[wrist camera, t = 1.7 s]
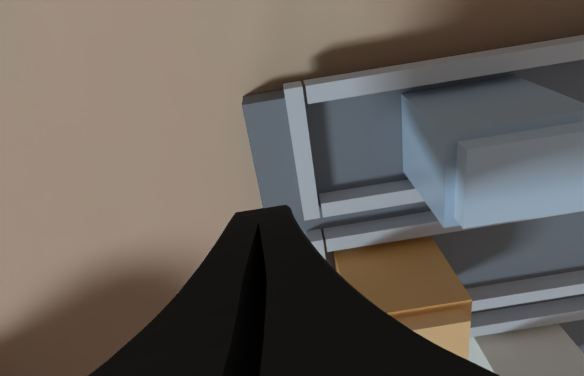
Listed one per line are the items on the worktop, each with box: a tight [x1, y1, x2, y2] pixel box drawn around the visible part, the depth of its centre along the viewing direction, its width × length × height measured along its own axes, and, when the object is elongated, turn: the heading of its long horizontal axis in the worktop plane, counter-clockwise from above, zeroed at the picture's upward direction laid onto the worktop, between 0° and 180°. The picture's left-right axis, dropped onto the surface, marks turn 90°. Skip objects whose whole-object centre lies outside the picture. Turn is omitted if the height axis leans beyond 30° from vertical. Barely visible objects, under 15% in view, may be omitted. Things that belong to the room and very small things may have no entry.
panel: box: [242, 35, 584, 353], centre depth 18 cm, size 18×19×2 cm
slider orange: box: [333, 236, 472, 360], centre depth 16 cm, size 3×4×5 cm
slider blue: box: [401, 76, 584, 229], centre depth 13 cm, size 3×4×5 cm
